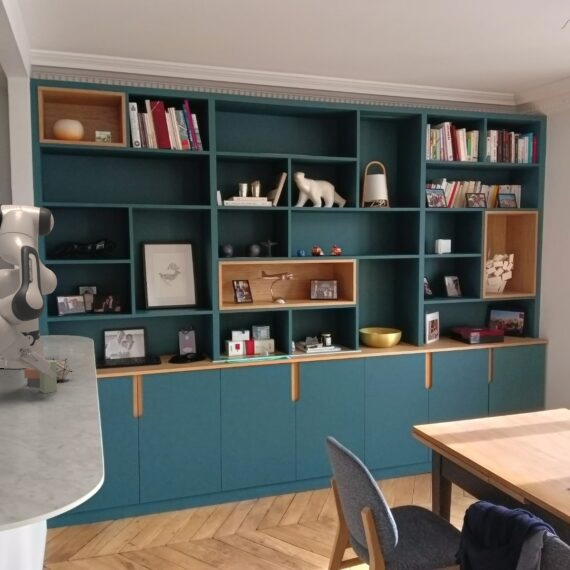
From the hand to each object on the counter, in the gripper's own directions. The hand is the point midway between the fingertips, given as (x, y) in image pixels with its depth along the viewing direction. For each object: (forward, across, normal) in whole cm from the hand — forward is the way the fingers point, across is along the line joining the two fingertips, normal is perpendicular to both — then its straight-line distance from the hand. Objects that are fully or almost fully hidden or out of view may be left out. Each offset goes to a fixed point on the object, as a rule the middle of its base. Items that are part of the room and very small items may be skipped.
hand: (47, 373), depth 190 cm
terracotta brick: (+2, +11, +2) cm, 11 cm away
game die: (+10, +12, -1) cm, 16 cm away
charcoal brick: (+4, +11, +5) cm, 12 cm away
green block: (+4, 0, +4) cm, 6 cm away
